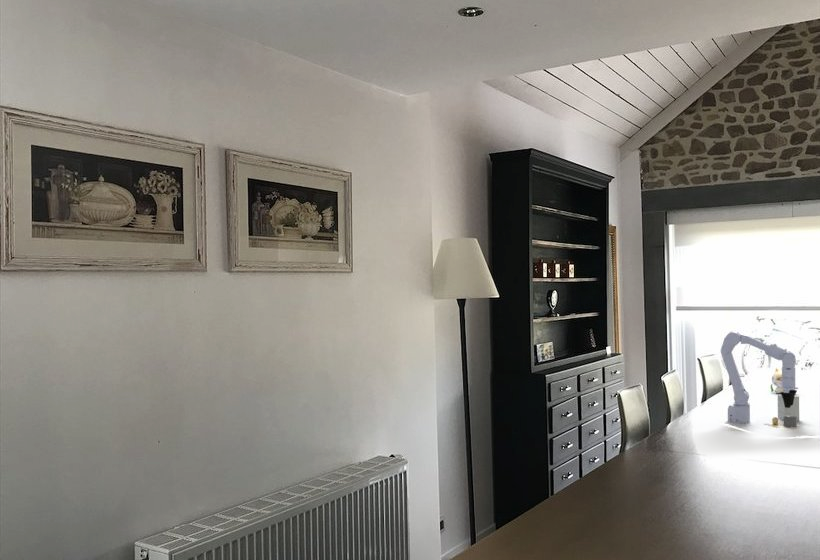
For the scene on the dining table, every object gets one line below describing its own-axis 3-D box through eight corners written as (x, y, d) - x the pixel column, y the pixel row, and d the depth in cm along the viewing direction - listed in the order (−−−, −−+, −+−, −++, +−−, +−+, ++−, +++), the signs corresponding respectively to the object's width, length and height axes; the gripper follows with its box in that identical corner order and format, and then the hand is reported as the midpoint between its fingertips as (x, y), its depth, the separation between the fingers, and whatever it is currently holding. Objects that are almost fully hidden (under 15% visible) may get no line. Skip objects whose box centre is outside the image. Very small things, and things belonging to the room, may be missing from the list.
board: (776, 430, 348) (776, 427, 348) (763, 426, 358) (763, 423, 358) (802, 429, 351) (802, 426, 351) (788, 424, 361) (788, 422, 361)
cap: (788, 427, 350) (788, 417, 350) (781, 425, 355) (781, 415, 355) (799, 426, 351) (798, 417, 351) (791, 424, 356) (791, 415, 356)
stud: (774, 425, 355) (774, 417, 355) (771, 424, 358) (771, 416, 358) (779, 424, 356) (779, 417, 356) (775, 423, 358) (775, 416, 358)
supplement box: (799, 422, 366) (799, 396, 366) (784, 422, 366) (784, 396, 366) (792, 419, 374) (792, 394, 374) (777, 419, 374) (777, 394, 374)
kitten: (764, 392, 466) (764, 367, 466) (778, 391, 469) (777, 366, 469) (783, 395, 452) (783, 370, 452) (797, 394, 455) (796, 369, 455)
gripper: (795, 379, 348) (796, 409, 348) (800, 376, 360) (800, 405, 360) (778, 378, 352) (779, 408, 352) (783, 375, 364) (784, 403, 364)
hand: (788, 406), depth 357 cm, fingers open, 7 cm apart
